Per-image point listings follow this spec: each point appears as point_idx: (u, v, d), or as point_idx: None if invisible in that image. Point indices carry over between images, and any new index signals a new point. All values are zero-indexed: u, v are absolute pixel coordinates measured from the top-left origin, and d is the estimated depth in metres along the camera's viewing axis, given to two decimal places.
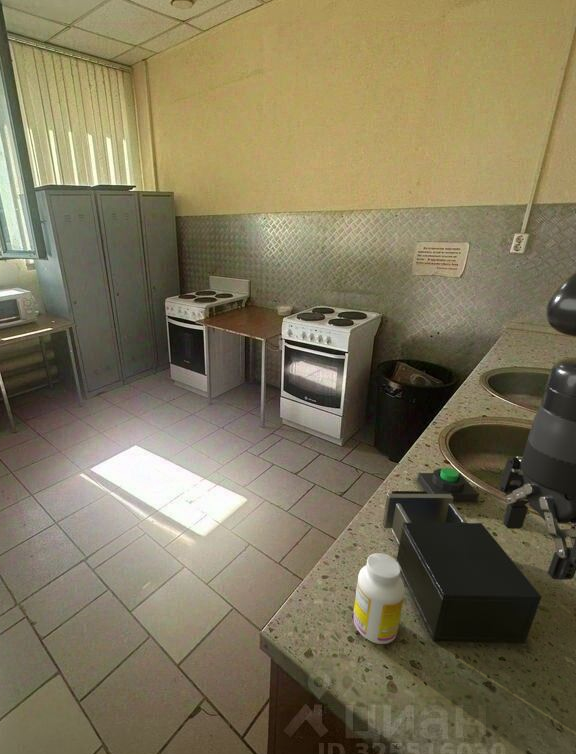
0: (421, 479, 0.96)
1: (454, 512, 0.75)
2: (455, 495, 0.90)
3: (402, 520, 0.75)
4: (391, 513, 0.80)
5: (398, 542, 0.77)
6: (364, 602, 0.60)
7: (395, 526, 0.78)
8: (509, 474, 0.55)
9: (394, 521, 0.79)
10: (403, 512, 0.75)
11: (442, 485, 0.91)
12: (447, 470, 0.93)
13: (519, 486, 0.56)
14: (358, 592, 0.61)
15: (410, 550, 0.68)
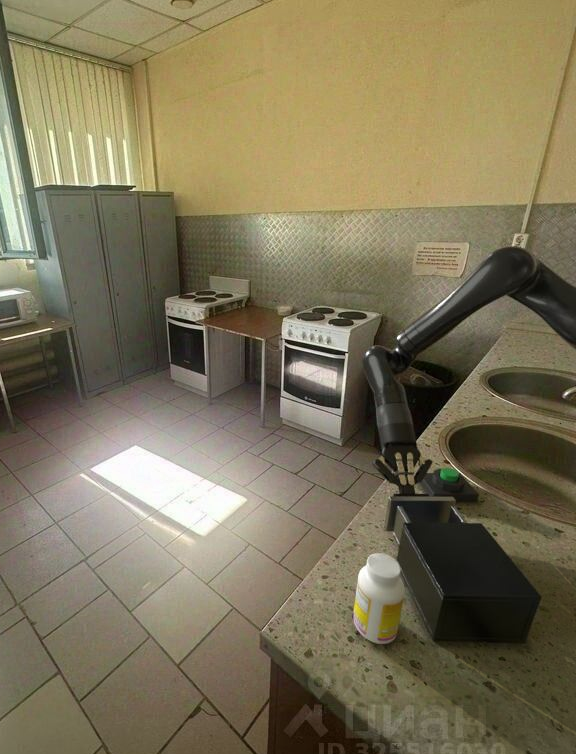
0: None
1: (456, 515, 0.75)
2: (455, 495, 0.90)
3: None
4: (393, 516, 0.80)
5: None
6: (364, 602, 0.60)
7: (397, 529, 0.77)
8: (418, 469, 0.88)
9: (396, 524, 0.78)
10: (405, 515, 0.74)
11: (442, 485, 0.91)
12: (447, 470, 0.93)
13: (418, 475, 0.86)
14: (358, 592, 0.61)
15: (410, 550, 0.68)
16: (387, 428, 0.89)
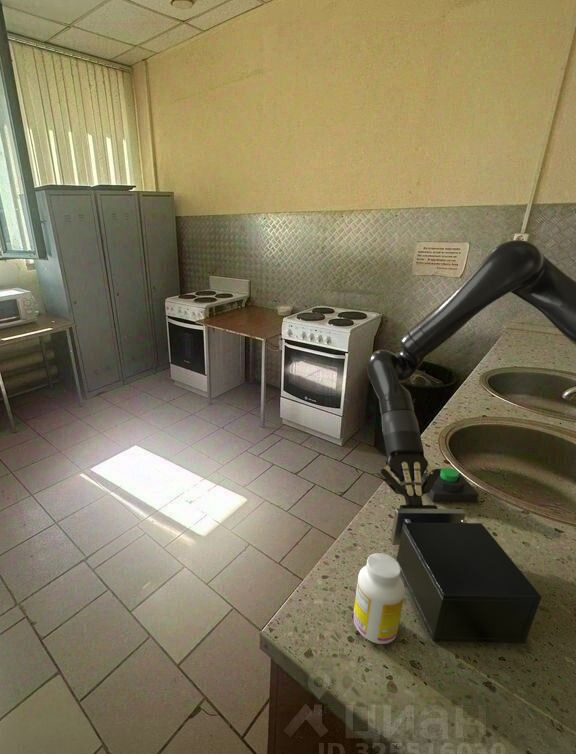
0: (421, 479, 0.96)
1: None
2: (455, 495, 0.90)
3: None
4: (400, 529, 0.76)
5: None
6: (364, 602, 0.60)
7: None
8: None
9: None
10: None
11: (442, 485, 0.91)
12: (447, 470, 0.93)
13: (425, 485, 0.83)
14: (358, 592, 0.61)
15: (410, 550, 0.68)
16: (393, 436, 0.86)
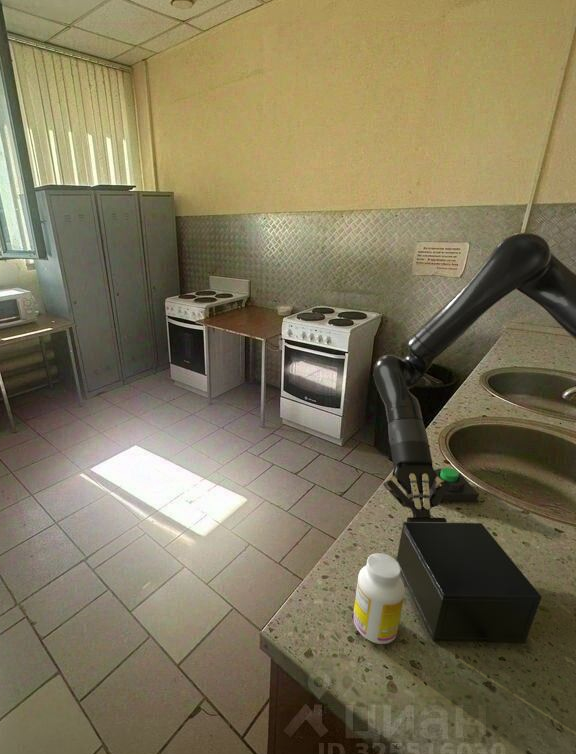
0: None
1: None
2: (455, 495, 0.90)
3: None
4: None
5: None
6: (364, 602, 0.60)
7: None
8: (434, 490, 0.82)
9: None
10: None
11: None
12: (447, 470, 0.93)
13: (433, 498, 0.79)
14: (358, 592, 0.61)
15: (410, 550, 0.68)
16: (400, 446, 0.82)
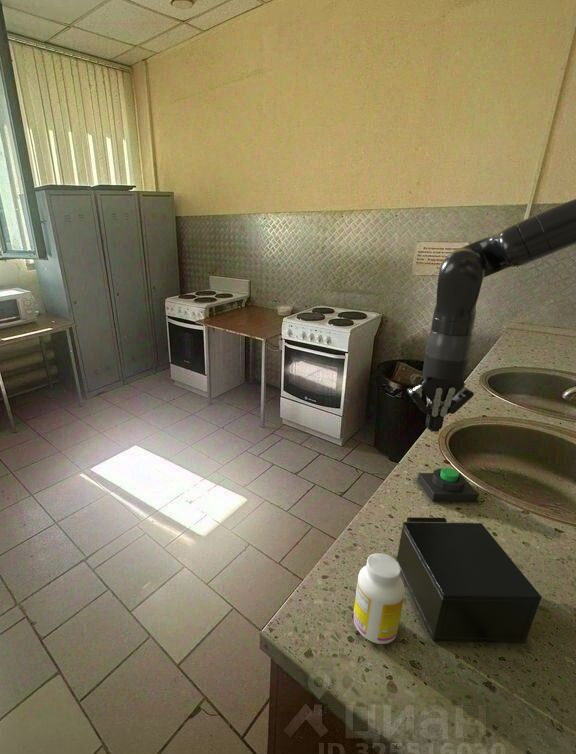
0: (421, 479, 0.96)
1: None
2: (455, 495, 0.90)
3: None
4: None
5: None
6: (364, 602, 0.60)
7: None
8: (455, 394, 0.82)
9: None
10: None
11: (442, 485, 0.91)
12: (447, 470, 0.93)
13: (452, 406, 0.81)
14: (358, 592, 0.61)
15: (410, 550, 0.68)
16: (437, 363, 0.76)
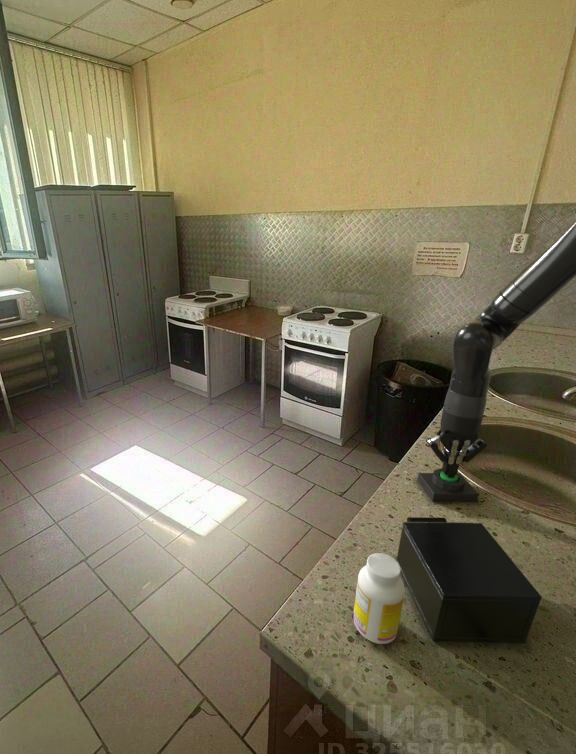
0: (421, 479, 0.96)
1: None
2: (455, 495, 0.90)
3: None
4: None
5: None
6: (364, 602, 0.60)
7: None
8: None
9: None
10: None
11: (442, 485, 0.91)
12: None
13: (467, 455, 0.89)
14: (358, 592, 0.61)
15: (410, 550, 0.68)
16: (455, 419, 0.84)
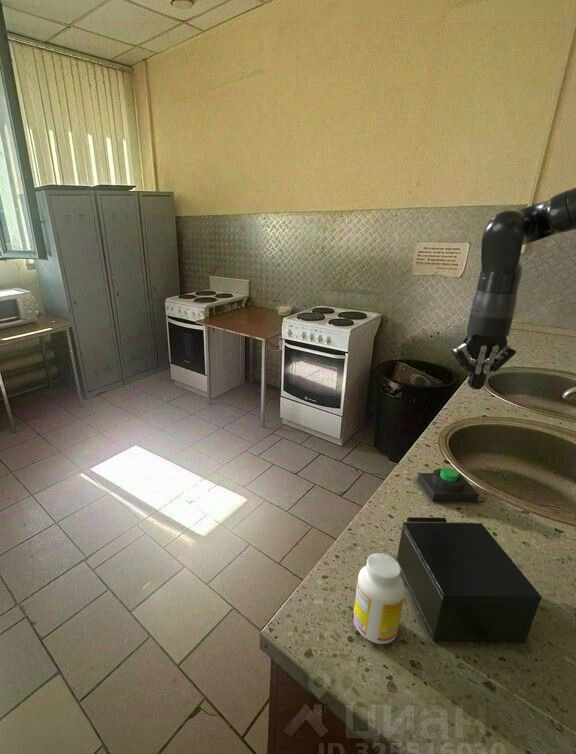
0: (421, 479, 0.96)
1: None
2: (455, 495, 0.90)
3: None
4: None
5: None
6: (364, 602, 0.60)
7: None
8: (497, 353, 0.87)
9: None
10: None
11: (442, 485, 0.91)
12: (447, 470, 0.93)
13: (495, 364, 0.86)
14: (358, 592, 0.61)
15: (410, 550, 0.68)
16: (483, 321, 0.81)
